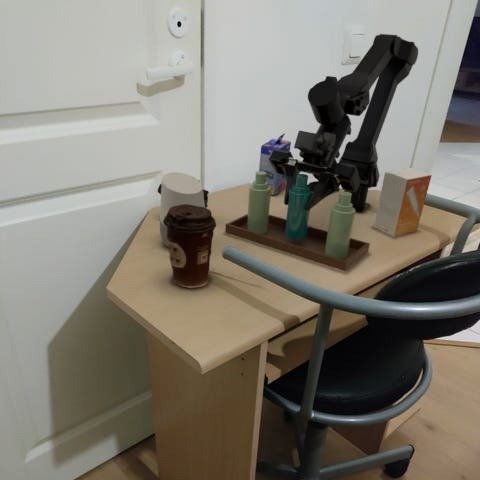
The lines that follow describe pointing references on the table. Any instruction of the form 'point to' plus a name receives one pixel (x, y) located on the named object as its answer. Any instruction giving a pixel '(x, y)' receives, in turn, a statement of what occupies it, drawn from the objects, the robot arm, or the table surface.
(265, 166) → the ink cartridge box
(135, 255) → the table surface
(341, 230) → the sage bottle
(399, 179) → the small box
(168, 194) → the smart speaker
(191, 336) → the table surface
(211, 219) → the coffee cup
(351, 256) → the tray
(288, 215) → the teal bottle
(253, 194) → the sage bottle
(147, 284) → the table surface
